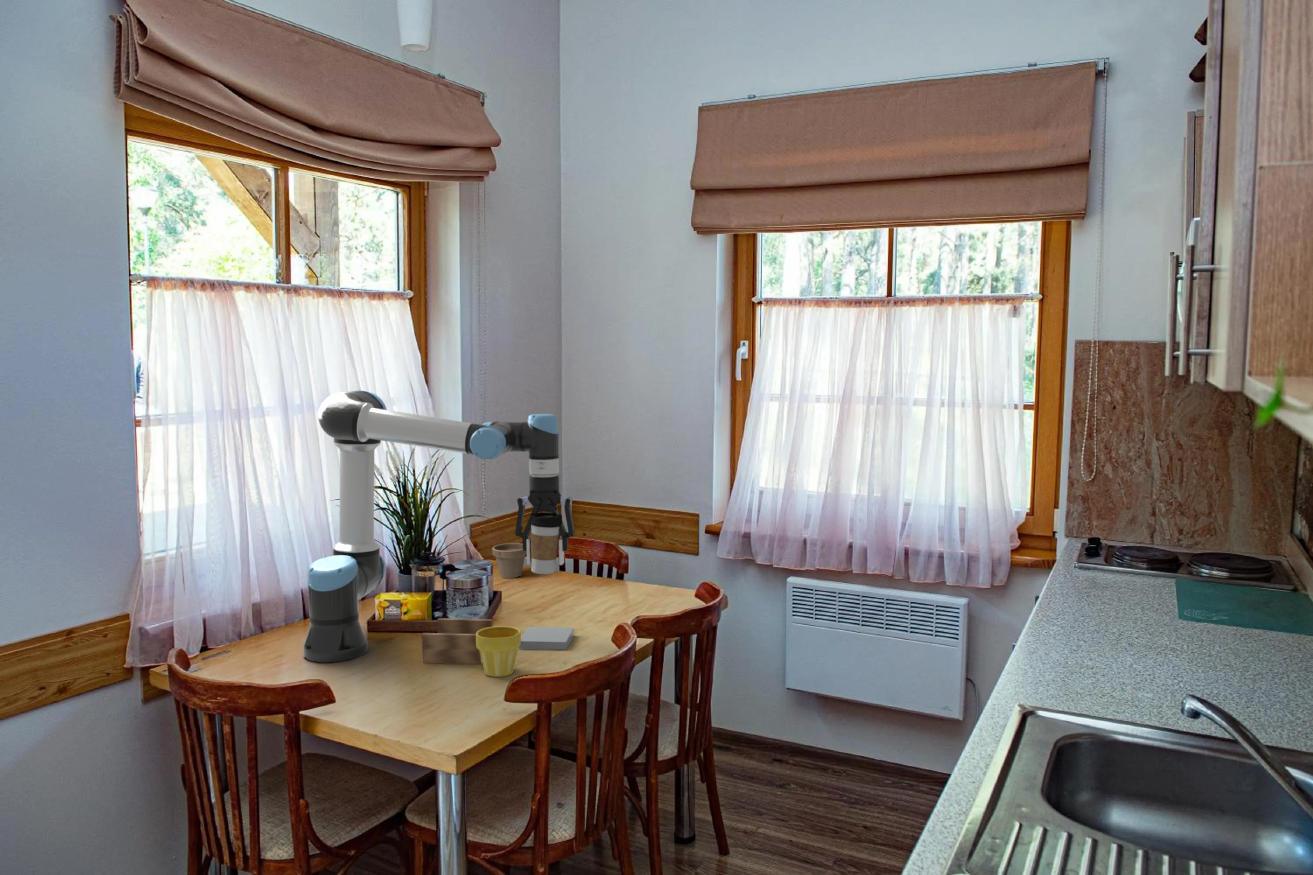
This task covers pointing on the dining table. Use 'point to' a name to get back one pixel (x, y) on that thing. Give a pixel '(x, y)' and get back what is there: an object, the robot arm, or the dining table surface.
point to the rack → (454, 641)
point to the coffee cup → (544, 542)
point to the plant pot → (498, 649)
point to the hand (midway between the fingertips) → (545, 563)
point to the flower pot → (509, 559)
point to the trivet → (546, 638)
